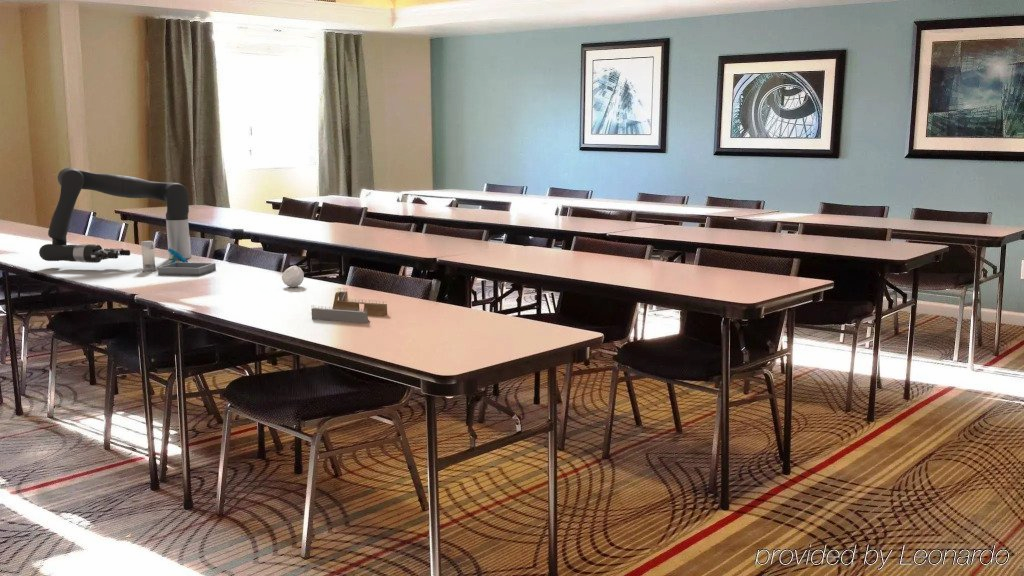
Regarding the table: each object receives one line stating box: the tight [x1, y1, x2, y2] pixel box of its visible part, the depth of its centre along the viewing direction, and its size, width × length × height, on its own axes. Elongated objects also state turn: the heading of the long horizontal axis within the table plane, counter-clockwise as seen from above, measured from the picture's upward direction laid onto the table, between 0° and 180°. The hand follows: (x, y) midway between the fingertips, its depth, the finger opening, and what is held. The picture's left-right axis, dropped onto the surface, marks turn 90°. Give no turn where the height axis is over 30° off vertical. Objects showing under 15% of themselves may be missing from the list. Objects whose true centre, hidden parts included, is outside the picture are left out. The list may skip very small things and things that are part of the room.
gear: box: [167, 248, 189, 264], centre depth 397 cm, size 11×6×10 cm
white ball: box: [281, 265, 305, 288], centre depth 344 cm, size 8×8×8 cm
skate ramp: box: [311, 287, 388, 325], centre depth 297 cm, size 29×35×8 cm
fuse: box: [140, 240, 156, 273], centre depth 382 cm, size 5×5×12 cm
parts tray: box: [157, 261, 217, 277], centre depth 378 cm, size 14×18×3 cm
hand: (123, 254), depth 384 cm, fingers open, 8 cm apart
